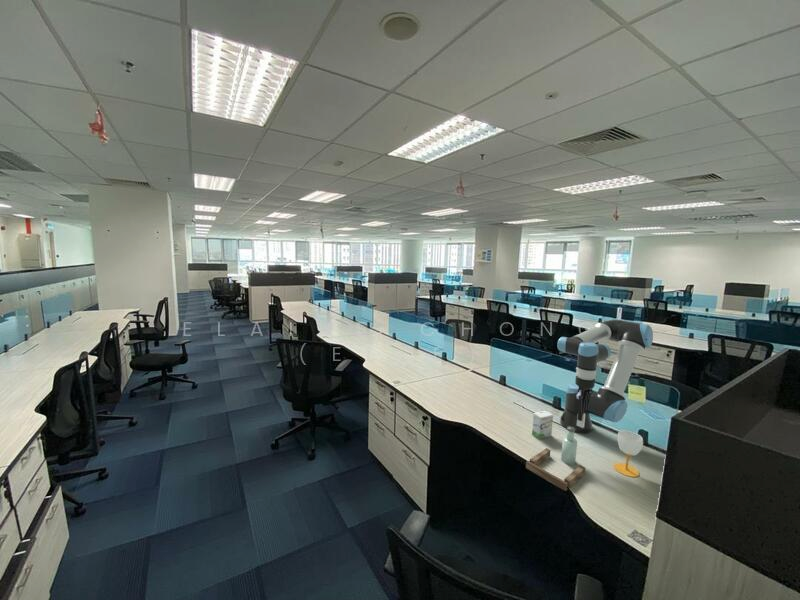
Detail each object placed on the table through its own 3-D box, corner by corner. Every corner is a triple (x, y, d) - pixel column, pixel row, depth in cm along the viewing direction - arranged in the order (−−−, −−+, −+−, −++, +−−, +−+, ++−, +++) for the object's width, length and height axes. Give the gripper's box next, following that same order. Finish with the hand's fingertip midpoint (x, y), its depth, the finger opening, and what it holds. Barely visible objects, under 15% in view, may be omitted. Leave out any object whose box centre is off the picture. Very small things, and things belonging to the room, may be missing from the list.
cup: (640, 469, 139) (645, 435, 136) (637, 480, 132) (642, 444, 130) (615, 460, 145) (619, 427, 142) (611, 470, 138) (616, 435, 136)
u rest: (545, 454, 149) (546, 448, 148) (584, 474, 135) (585, 467, 135) (525, 468, 139) (526, 461, 138) (565, 491, 125) (566, 484, 125)
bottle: (564, 455, 148) (567, 423, 146) (577, 461, 143) (580, 429, 141) (558, 459, 145) (561, 427, 142) (571, 466, 140) (574, 433, 138)
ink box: (538, 439, 160) (540, 417, 159) (531, 434, 165) (533, 412, 163) (551, 436, 163) (553, 414, 162) (544, 431, 168) (546, 410, 166)
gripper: (583, 371, 151) (578, 418, 154) (569, 377, 143) (565, 427, 147) (600, 376, 145) (595, 425, 149) (587, 383, 137) (582, 434, 141)
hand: (580, 426), depth 148 cm, fingers closed
